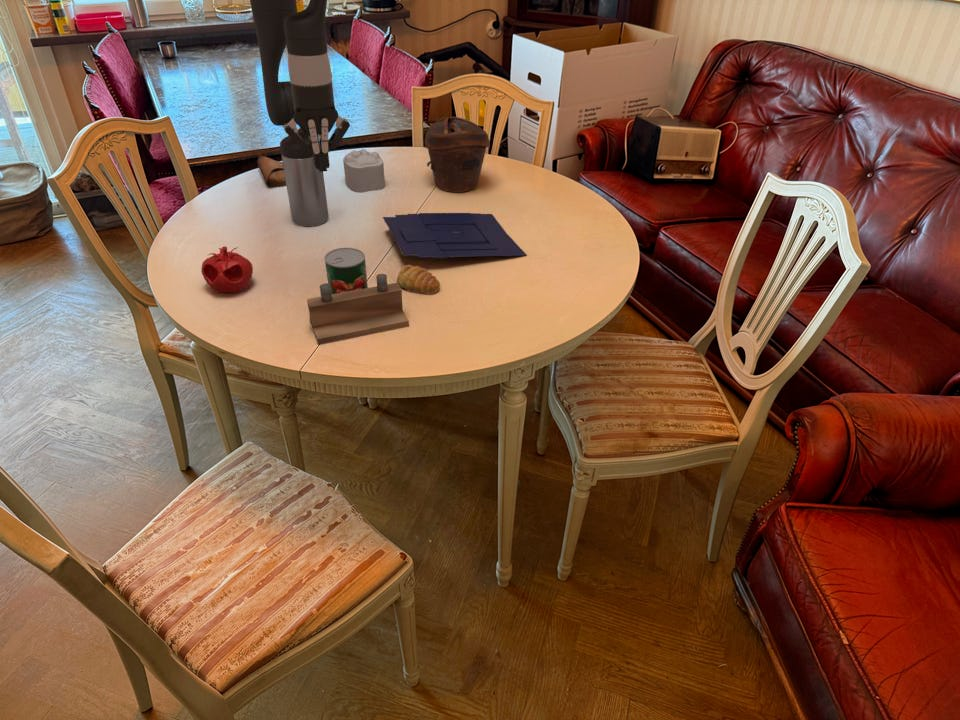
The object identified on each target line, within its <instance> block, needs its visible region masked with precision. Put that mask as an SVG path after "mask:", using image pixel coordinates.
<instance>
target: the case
mask: <svg viewBox="0 0 960 720" xmlns="http://www.w3.org/2000/svg"><path fill="white" fill-rule="evenodd" d="M490 144H491V143H490V139H489V134H488V133H487V131H485V130H484V129H482V127H481V126H479V125H478V124H476V123H474V122H473V121H470V120H468V119H465V118H463V117H459V116H446V117H442V118H440V119H437V120H436V121H435V122H433V123H431V125H430V126H429V128H428V129H427V132H426V134H425V138H424V146H425V149H427V150H428V151H427V152H428V155H429V161H427V163H426V166H427V167H428V168H429V166H430V170H431V171H432V174H433V180H434V184H435V185H436V186H437V187H438V189H440V190H443V191H446V192H451V193H461V192H468V191H472V190H474V189H475V188H476V187H478V185H479V180H480V176H481V172H482V168H483V165H484V159H485V155H486V151H487V148H488V149H490V146H491V145H490Z"/></svg>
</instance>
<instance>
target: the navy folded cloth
mask: <svg viewBox="0 0 960 720" xmlns="http://www.w3.org/2000/svg"><path fill="white" fill-rule="evenodd" d="M382 219H383V220H384V222H385V224H386V226H387V228H388V229H389V231H390V232H391V235H392V237H393V238H394V240H395V242H396V244H397V246H398V248H399V250H400V253H401V255H402V256H418V258H433V259H438V258H439V259H443V258H445V259H447V258H460V257H461V258H462V257H463V258H465V257H466V258H467V257H468V258H469V257H495V256H496V257H517V256H527V253H526V252H525V251H524V250H523V249H522V248H521V247H520V246H519V244H517V242H516V241H514V239H512V237H511V236H510V235H509V234H508V233H507V232H506V231H505V229H504V228H503V226H502V225H501V224H500V223H499V221H498V219H496V217H495V216H494V215H493V213H478V212H477V213H476V212H475V213H474V212H473V213H472V212H419V213H407V214H394V216H382Z"/></svg>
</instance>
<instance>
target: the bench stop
mask: <svg viewBox="0 0 960 720" xmlns="http://www.w3.org/2000/svg"><path fill="white" fill-rule="evenodd" d="M375 277H376V286H371V287H370V286H369V287H368V288H365V289H359V290H354V291H348V292H343V293H337V294H332V295H331V287H330V284H328V282H326V283H321V284H320V285H319V292H320V293H319V294H320V296H315V297H311V298H307V299H306V302H307V309H308V313H309V317H308V318H309V323H310V326H311V328H312V331H313V334H314V337H315V339H316V342H317V344H318V345H323V344H327V343H332V342H338V341H341V340H346V339H350V338H356V337H357V338H358V337H360V336H366V335H371V334H375V333H381V332H385V331H390V330H395V329H399V328H400V329H401V328H404V327H409V326H410V321H409V319H408V316H407V315H406V314H405V312H404V310H403V309H404V308H403V306H404V305H403V293H402V292H403V290H402V287H401V286H400V285H399V284H398V283H397V282H394V283H392V282H391V283H388V279H387V278H388V277H387V273H378V274H377V275H375Z"/></svg>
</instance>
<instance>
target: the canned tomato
mask: <svg viewBox="0 0 960 720" xmlns="http://www.w3.org/2000/svg"><path fill="white" fill-rule="evenodd" d="M323 259H324V262H325V263H324V264H325V271H326V278H327V284H330V287H331V295H332V294H337V293H343V292H348V291H354V290H359V289H365V288H369V285H368V277H367V274H368V273H367V266H366V255H365V253H364V252H363V251H362V250H360V249H358V248H356V247H355V248H354V247H338V248H334V249H332V250H329V251H328V252H327V253H326V254H325V255H324V258H323Z"/></svg>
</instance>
